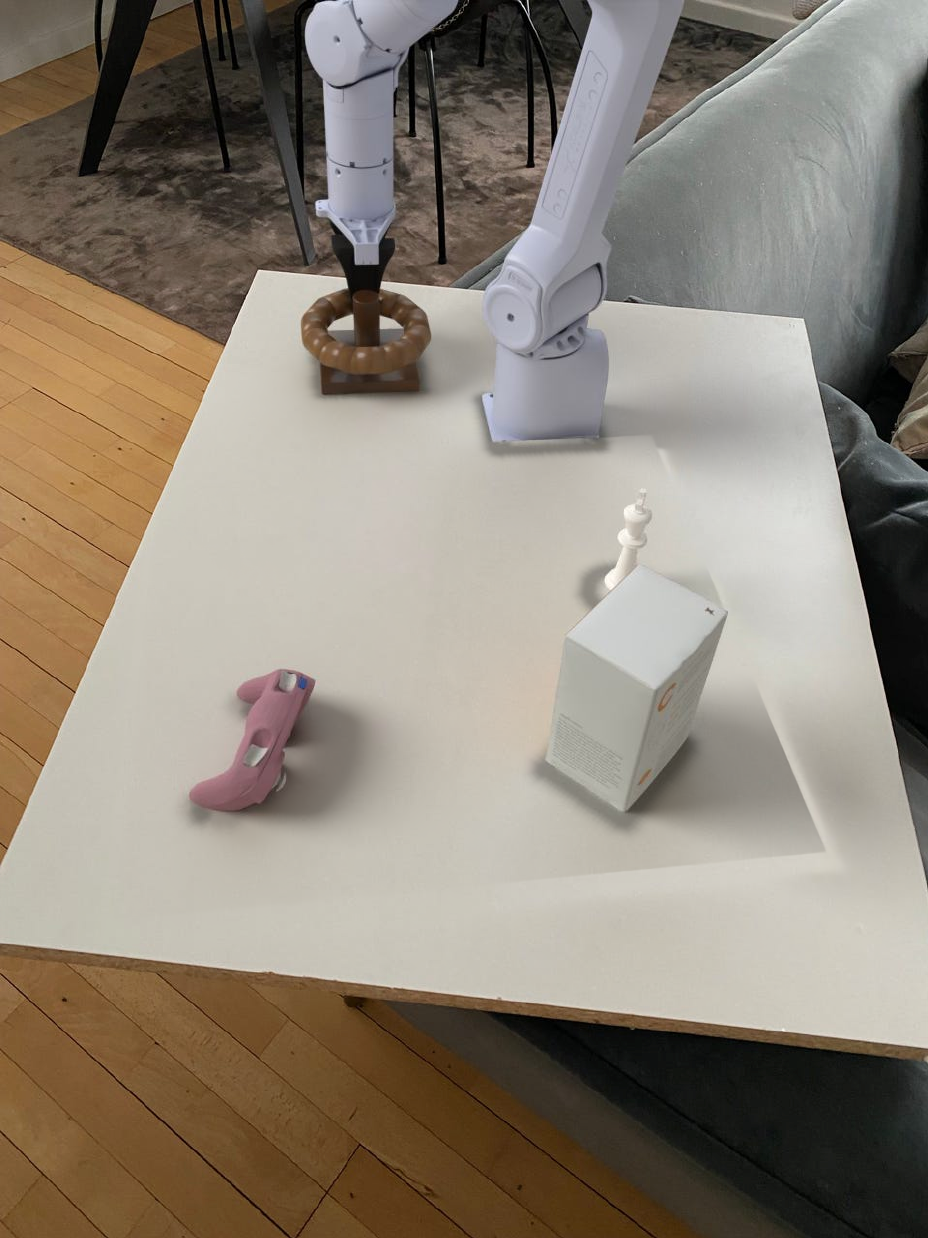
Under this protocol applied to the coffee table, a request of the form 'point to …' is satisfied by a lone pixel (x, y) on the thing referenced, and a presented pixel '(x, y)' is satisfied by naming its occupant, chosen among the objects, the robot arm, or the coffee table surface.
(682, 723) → the small box
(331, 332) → the peg stand
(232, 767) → the video game controller
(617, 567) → the chess piece
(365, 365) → the segmented brown ring
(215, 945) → the coffee table surface
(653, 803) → the coffee table surface
